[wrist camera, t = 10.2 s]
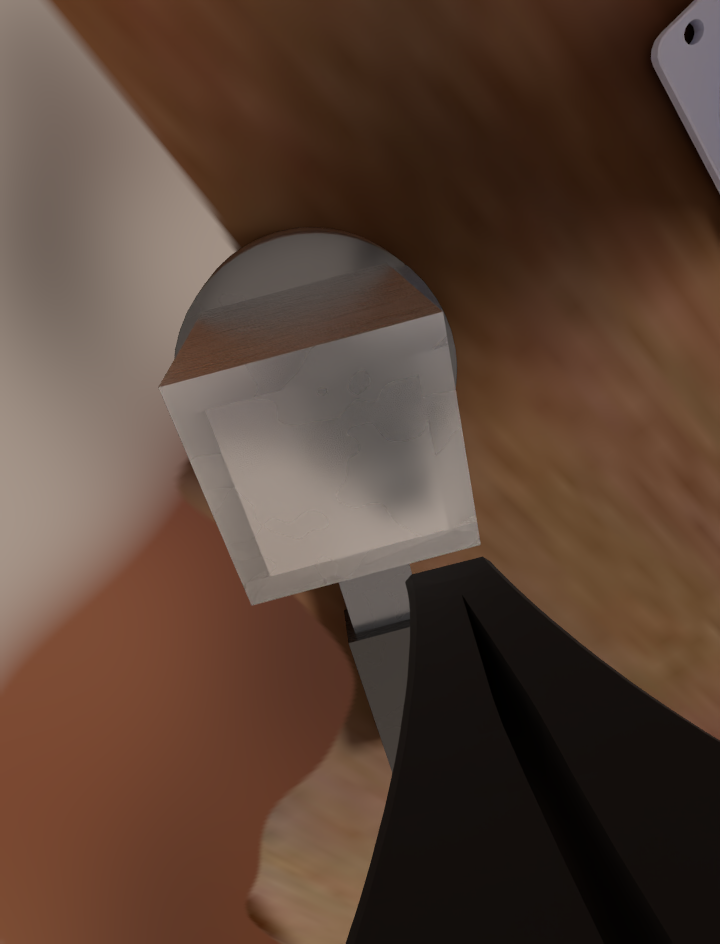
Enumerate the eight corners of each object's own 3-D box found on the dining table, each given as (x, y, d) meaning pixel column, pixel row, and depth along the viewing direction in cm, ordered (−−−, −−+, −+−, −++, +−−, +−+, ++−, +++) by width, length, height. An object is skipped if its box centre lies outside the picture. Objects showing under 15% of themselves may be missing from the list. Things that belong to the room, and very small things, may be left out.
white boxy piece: (386, 262, 15) (443, 311, 10) (420, 431, 17) (480, 544, 12) (201, 311, 15) (158, 387, 10) (260, 473, 17) (251, 605, 12)
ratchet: (141, 268, 16) (88, 303, 12) (415, 194, 16) (464, 202, 12) (336, 750, 27) (346, 864, 22) (502, 706, 27) (546, 812, 22)
